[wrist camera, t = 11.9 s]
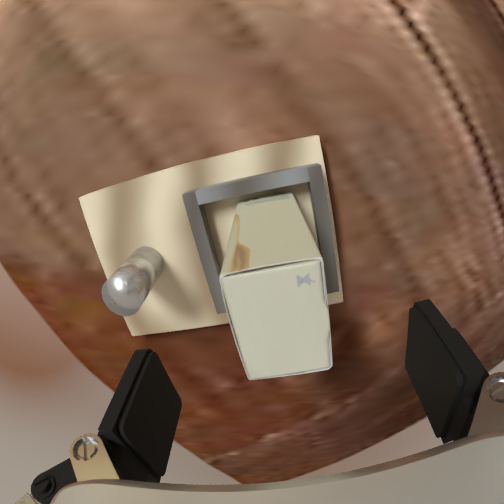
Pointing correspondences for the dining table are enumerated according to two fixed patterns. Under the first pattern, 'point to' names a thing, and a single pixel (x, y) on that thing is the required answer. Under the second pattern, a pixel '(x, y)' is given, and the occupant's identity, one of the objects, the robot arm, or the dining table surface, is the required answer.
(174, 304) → the board
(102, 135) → the dining table surface
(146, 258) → the steel pin
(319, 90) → the dining table surface
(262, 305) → the skincare box
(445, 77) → the dining table surface
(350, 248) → the dining table surface
